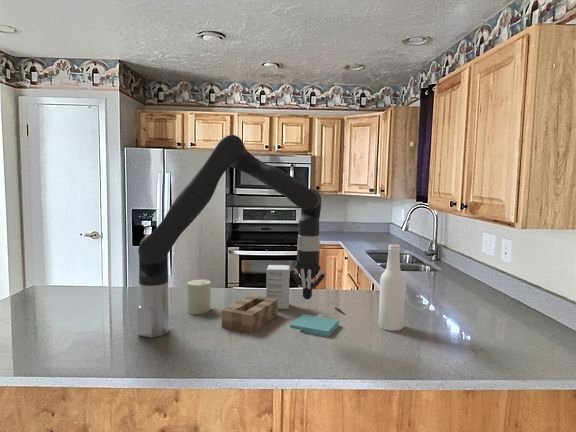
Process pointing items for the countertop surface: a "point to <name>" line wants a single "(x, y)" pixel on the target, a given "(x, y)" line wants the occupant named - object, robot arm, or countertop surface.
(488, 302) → the countertop surface
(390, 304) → the alcohol
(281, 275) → the supplement box
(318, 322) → the cover plate
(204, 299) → the can
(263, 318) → the slot box
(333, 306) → the fork
